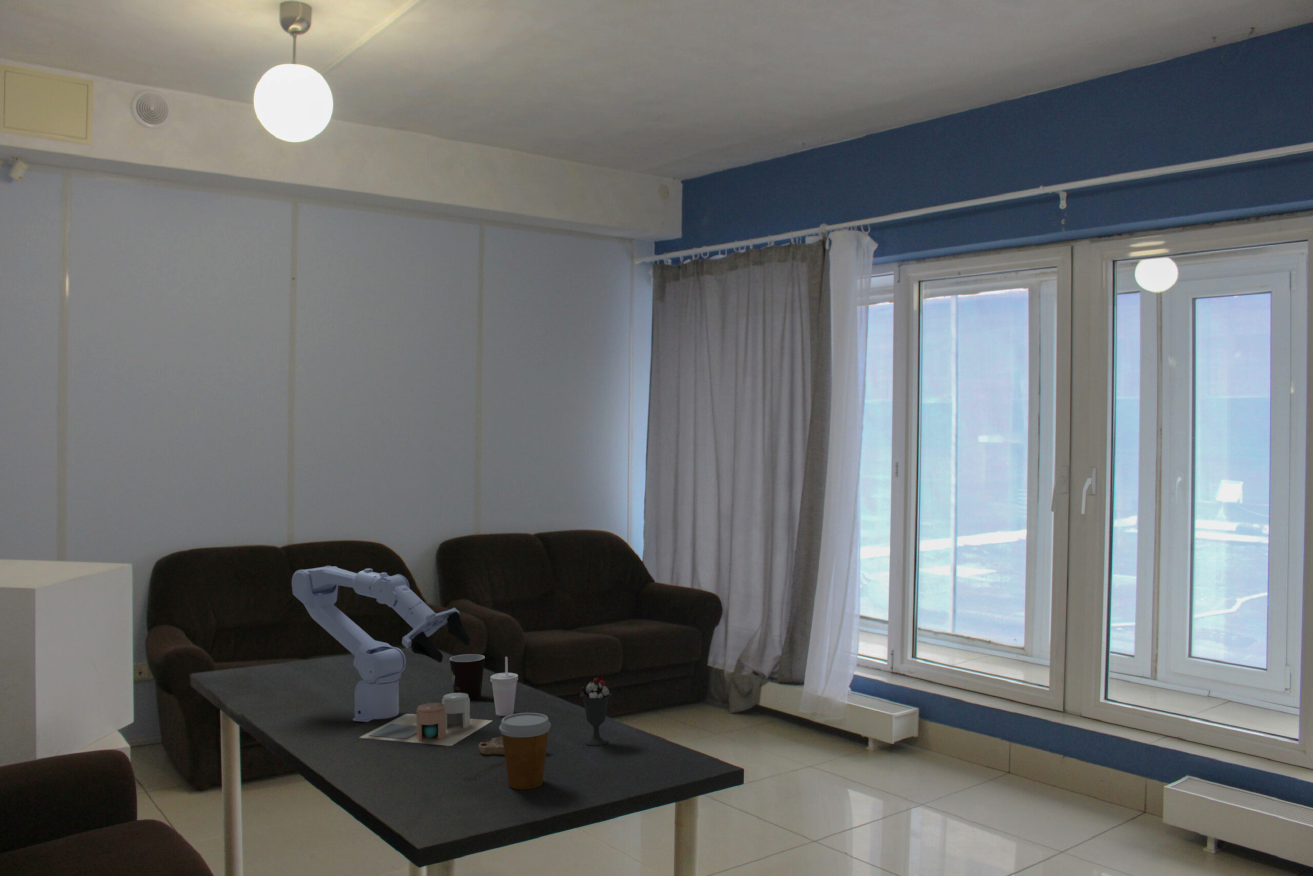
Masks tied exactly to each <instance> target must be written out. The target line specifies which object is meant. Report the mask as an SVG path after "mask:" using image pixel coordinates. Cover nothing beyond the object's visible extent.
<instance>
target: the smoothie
mask: <svg viewBox="0 0 1313 876" xmlns="http://www.w3.org/2000/svg"><path fill="white" fill-rule="evenodd" d="M508 660H509V659H508V656H505V657H504V661H505V662H504V665H505V666H504V667H505V668H504V672H499V673H494V674H492V675H491V676H490V682H491V684H492V685H491V687H492V693H493V694H492V695H493V700H494V709H495V715H496V716H499V717H506V716H508V715H512V714H514V710H515V702H516V701H515V700H516V691H517V684H518V683H517V682H518V680H519V675H518V673H513V672H509V670H508V669H509V668H508V667H509V666H508V665H509V664H508V663H509V662H508Z"/></svg>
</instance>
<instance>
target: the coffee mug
mask: <svg viewBox="0 0 1313 876" xmlns="http://www.w3.org/2000/svg"><path fill="white" fill-rule="evenodd" d="M485 658H486V657H485V655H482V654H478V653H477V654H474V653H473V654H471V653H467V654H459V655H453V656H451V657H450V658H449V665H450V673H451V681H452V682H451V683H452V687H453V693H466V694H468V697H469V698H470V702H475V701H478V700H480V699H481V698H482V689H483V678H484V668H485V660H486V659H485ZM477 699H478V700H477ZM474 700H475V701H474Z"/></svg>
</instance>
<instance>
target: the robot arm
mask: <svg viewBox="0 0 1313 876" xmlns="http://www.w3.org/2000/svg"><path fill="white" fill-rule="evenodd" d="M340 586H342V587H347V588H352V589H353V590H354V592H355V593H356V594H358V595H361V596H365V597H368V598H369V597H370V598H372V599H376V602H377V603H378V604H382V605H387V606H388V608H392V609H393V610H394V611H395V612H396V613H397V615H399V616H400V617H401V618H402V619H403V620H404V621H405V622H406V624H408V625H409V626H410V627H411V628H412V630H411V631H409V633H407V634H406V635H404V636H402V639H401V645H403V647H405V648H406V649H410V647H411V651H412V652H413V654H418V655H422V656H425V657H427V658H430V659H432V660H434V661H436V662H438V663H440V664H441V663H442V662H443V658H444V655H443V654H442V652H441V650H439V649H438V647H436V646H435V645H434V644H433V643H432V642H431V640H430V639H429V638H428V637H430V636H432V635H433V634H434V633H436V632H437V631H438V630H440V628H442V627H443V626H445V625H446V626H447V628H448V629H447V633H449V634H451V635H453V636H454V637H456V638H457V639H458V640H459V641H460V642H461V643H462V644H464V645H465V646H467V647H468V646H469V645H470V643H471V637H470V636H469V635H468V633H467V631H466V629H465V627H464V626H463V623H462V619H461V616H460V611H459V610H458V609H457V608H456V607H452V608H451V609H448V610H445V611H440V612H438V613H436V612H435V611H434V610H433V609H431V607H429V606H428V605H427V604H426V603H425V602H424V601H423V600H422V599H421V598H420V597H419V596H418V595H417V594H416V593H415V592H414V591H413V590H412V589H410V583H409V580H408V579H407V577H405V576H404V575H402V574H400V573H398V574H397V573H396V574H394V575H391V576H390V575H389V574H388V572H380V573H379V572H374V571H373V568H369V567H368V568H364V570H361V571H358V572H353V571H349V570H347V569H344V568H339V567H338V566H335V565H334V566H331V565H325V566H321V567H314V568H307V569H298V570H296V571H295V572H293V574H292V578H291V588H292V589H291V591H292V595H293V596H294V597H295V598H297V600H298V601H299V602H301V603H302V604H303V606H304V607H305V609H306V611H307V612H308V614H309V616H310V617H311V619H312V620H314V622H316V623H317V624H318V625H320V627H322V629H324V630H325V631H326V632H327V633H328V634H329V635H330V636H332V637H333V638H334V639H335V640H336V641H337V642H339V644H341V645H342V646H343V647H344V648H345V649H346V650H347V651H348V652H350V653H351V655H353V656H354V658H353V663H352V664H353V667H354V668H355V669H356V670H357V671H358V673H359V676H360V677H361V679H360V680H359V681H358V683H356V686H355V689H354V718H352V721H353V722H361V723H362V722H363V723H368V722H370V721H372V720H385V719H390V718H394V717H397V716H398V715H399V714H400V699H399V698H400V697H399V695H400V693H399V691H400V689H399V688H400V687H399V679H401V677H402V676H401V675H402V673H403V672H404V671H405V670H406V665H407V659H406V656H405V654H404V651H403V650H401V649H400V648H399V647H395V646H392V645H390V644H389V643H388V642H383V641H379V640H375V639H374V638H373V637H371V635H369V634H368V633H367V632H366V631H365V630H364V629H362V628H361V627H360V626H359V625H358V624H356V623H355V621H353V620H352V619H351V618H349V616H347V615H346V614H345V613H344V612H343V611H342V610H341V609H339V608H338V607H337V606H336V605H335V604H336V602H337V601H338V592H339V591H338V590H339V589H338V588H339V587H340Z"/></svg>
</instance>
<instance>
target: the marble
mask: <svg viewBox="0 0 1313 876" xmlns="http://www.w3.org/2000/svg"><path fill="white" fill-rule="evenodd" d="M437 733H438V727H437V725H436V724H433V725H426V726H425V728H424V734H425V735H426V736H427V737H429V738H433V737H435V736H436V735H437Z"/></svg>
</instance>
